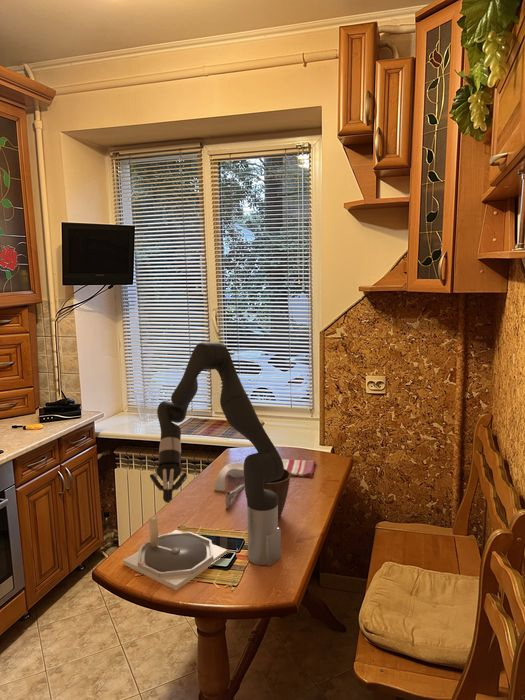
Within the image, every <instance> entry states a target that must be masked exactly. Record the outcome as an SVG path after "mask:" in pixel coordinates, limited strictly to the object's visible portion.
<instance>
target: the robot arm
mask: <svg viewBox="0 0 525 700" xmlns="http://www.w3.org/2000/svg"><path fill="white" fill-rule="evenodd" d="M205 370H206V371H207V370H210V371H211V370H216V372H217V373H218V375H219V378H220V380H221V384H222V386H221V392H220V399H219V404H220V408H221V411H222V412H223V415H224V417H225V418H226V422H228V424H229V426H230V427H231V428H233V430H235V431H236V432H238V433H239V434H240V435H242V436H244V437H245V438H246V439H247V440H248V441H249V442H250V443H251V444H252V446H253V447H254V448H255V450H256V453H251V454H248V455H247V456H246V457H245V459H244V462H243V463H244V477H243V480H244V493H245V497H246V508H247V509H246V510H247V511H246V513H247V518H246V519H247V520H246V523H247V529H246V530H247V560H249V562H251V563H252V564H254V565H258V566H268V567H270V566H272V565H273V564H274V563H275V562H276V561H278V560H279V559H280V558H281V557H282V551H281V550H282V537H281V535H282V532H281V529H282V528H280V527H279V520H278V497H277V494H276V493H275V492H273V491H271V490H267V489H264V484H266V483H269V482H272V481H275V480H278V479H280V478H282V476H283V474H284V465H283V462H282V459H283V458H282V457H281V455H280V453H279V452H278V450H277V448H276V447H275V444H274V443H273V442H272V440H271V438H270V437H269V436H268V434H267V432H266V430H265V429H264V426H263V425H262V423H261V421H260V418H259V417H258V415H257V412H256V411H255V408H254V406H253V404H252V402H251V400H250V398H249V396H248V394H247V393H246V391H245V388H244V386H243V383H242V381H241V379H240V377H239V376H238V372H237V371H236V367H235V364H234V362H233V358H232V356H231V354H230V351H229V349H228V347H227V346H226V345H225V344H224V343H222V342H219V341H218V342H217V341H203V342H202V341H201V342H199V343H197V344H196V346H195V347H194V349H193V351H192V352H191V356H190V357H189V360H188V362H187V364H186V367H185V369H184V373H183V376H182V377H181V379H180V381H179V383H178V384H177V386H176V387H175V389H174V391H173V393H172V394H171V396H170V400H171V401H169V400H163V401H160V403H159V404H158V406H157V409H156V411H157V412H156V414H157V419H158V422H159V428H160V442H159V449H158V450H159V451H158V464H157V468H156V470H155V472H154V473H152V474H150V475H149V478H150V480H151V481H152V482H153V484H154V485H155V486H156V488H157V489H158V490H159V491H162V492H163V494H162V500H163V501H164V503H165V504H168V503H170V502H171V501H172V500H173V492H174V491H177V490H179V489H180V487H181V486H182V485H183V484H184V482H185V481H186V480H187V479H188V474H187V472H183V471H182V468H181V460H182V459H181V457H182V456H181V455H182V446H181V445H182V443H181V442H182V441H181V436H182V430H181V427H180V426H179V425H177V424H179V423H181V422H184V420H185V419H186V417H187V414H188V408H189V405H190V404H191V402H192V400H193V399H194V398H195V396H196V395H197V392H198V390H199V384H198V383H199V382H198V376H199V375H200V373H202V371H205ZM178 477H179V479H178ZM159 478H160V480H161V481H162V483H163V484H161V482H159V480H158V479H159ZM176 480H177V481H176ZM175 481H176V482H175Z"/></svg>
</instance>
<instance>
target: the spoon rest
mask: <svg viewBox="0 0 525 700" xmlns="http://www.w3.org/2000/svg"><path fill="white" fill-rule="evenodd" d="M227 475H230V476H231V477H232V478H235V479H242V478H244V462H233V463H228V464H226V465H225V466H224V467H223V468H222V469H220V471H219V472H218V475H217V478H216V480H215V484H214V489H213V490H215V491H217V492H226V477H227Z"/></svg>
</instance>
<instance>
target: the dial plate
mask: <svg viewBox="0 0 525 700" xmlns="http://www.w3.org/2000/svg"><path fill="white" fill-rule="evenodd" d="M172 536H190V537H194V538H197V539H199V540H201V541H202V542H204V544H205V545H206V547H207V555H206V557H205V559H204V560H203V561H202V562H201V563H199V564H198V565H196V566H195V567H193V568H191V569H187V570H177V571H167V572H161V571H157V570H155V569H153V568H151V567H149V566H148V565H147V564H146V562H145V551H146V550H147V548H148V547H149V546H150V540H148V541H146V542H145V543H143V544H142V545H140V547H139V550H137V552H134V553H132V554H131V555H129V556H128V557H126V558H124V559H123V560H122V561H123V563H122V564H123V565H124V566H125V565H126V567H127V566H128V568H129V567H130V569H132V570H134V571H136V572H138V573H140V574H141V575H144V576H146V577H148V578H150V579H152V580H154V581H156V582H158V583H160V584H162V585H165V586H166V587H168V588H170V589H172V590H174V591H178V590H180V589H181V588H182V587H183V586H184V585H186V584H188V583H189V582H190V581H192V580H193V579H195V578H196V577H197V576H199V575H200V574H201V573H203V572H204V571H206V570H207V569H209V568H210V567H209V565H210V564H211V563H212V562H214V561H215V560H217V559H219V558H221V557H223V556H224V555H226V554H227V555H228V549H226V548H224V547H221V546H218V545H216V544H214V543H213V542H212V539H210V538H207V537H205V536H202V535H200V534H197V533H195V532H192V531H181V530H178V529H174V530H173V531H171V532H168V533H163V534H158V539H159V540H161V539H163V538H167V537H172ZM227 555H226V556H227ZM224 557H225V556H224ZM224 557H223V558H224ZM221 559H222V558H221ZM208 567H209V568H208Z"/></svg>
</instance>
